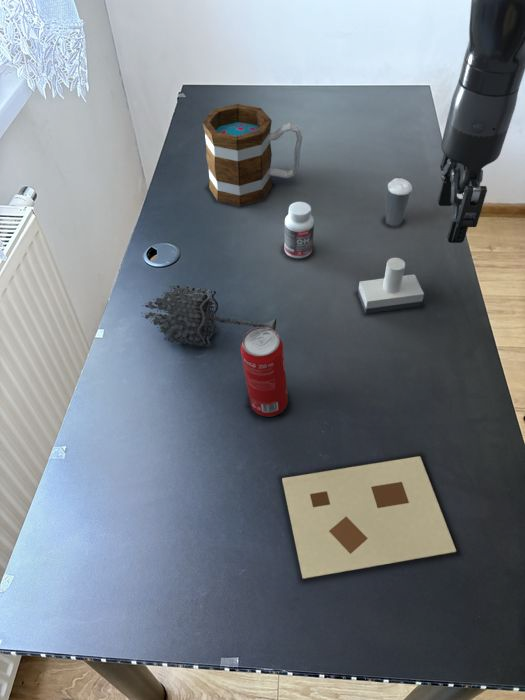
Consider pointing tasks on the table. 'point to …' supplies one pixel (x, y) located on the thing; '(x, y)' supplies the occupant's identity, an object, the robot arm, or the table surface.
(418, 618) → the table surface
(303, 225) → the pill bottle
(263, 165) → the mug
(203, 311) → the dark grey model tree
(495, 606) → the table surface
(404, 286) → the scrub brush
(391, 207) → the milkshake
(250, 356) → the beverage can
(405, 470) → the stain mat
